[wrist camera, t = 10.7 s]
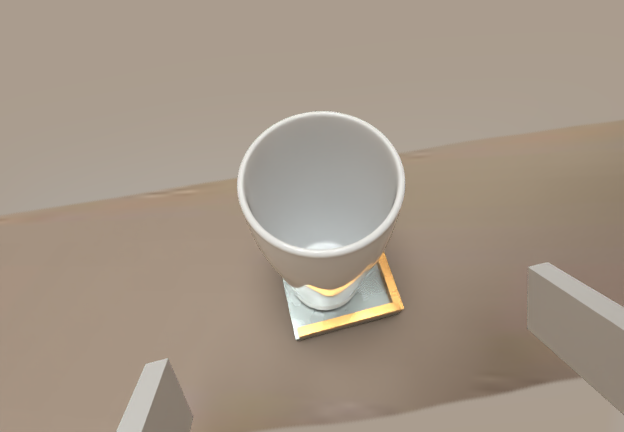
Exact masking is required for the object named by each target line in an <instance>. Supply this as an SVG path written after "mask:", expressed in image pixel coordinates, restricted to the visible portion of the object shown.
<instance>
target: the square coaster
mask: <svg viewBox="0 0 624 432" xmlns="http://www.w3.org/2000/svg"><path fill="white" fill-rule="evenodd" d="M282 279H283V278H282ZM283 283H284V288H285V293H286V297H287V302H288V306H289V311H290V315H291V320H292V324H293V329H294V333H295V338H296V340H297V341H300V340H304V339H308V338H312V337H315V336H319V335H323V334H326V333H330V332H334V331H338V330H341V329H345V328H349V327H352V326H356V325H360V324H363V323H367V322H371V321H375V320H378V319H382V318H386V317H389V316H393V315H397V314H399V313H400V312H401V311H402V310H403V309H404V307H403V304H402V301H401V298H400V296H399V293H398V290H397V287H396V284H395V282H394V279H393V276H392V273H391V270H390V268H389V265H388V262H387V259H386V256H385V254H384V252H383V253H382V255H381V256H380V258H379V260H378V261H377V262H376V264H375V265H374V266H373V268H372V269H371V270H370V272H369V273H368V274H367V276H366V277H365V278H364V279H363V281H362V282H361V283H360V285H359V286H358V289H357V291H356V293H355V294H354V296H353V297H352V298H351V299H350V300H349V301H348V302H347V303H346V304H344V305H343V306H341V307H339V308H336V309H332V310H318V309H314V308H311V307H309V306H307V305H305V304H304V303H303V302H301V301H300V300H299V299H298V298H297V296H296V295H295V293H294V292H293V290H292V288H291V287H290V286H289V285H288V284H287V282H286V281H285V280H284V279H283Z"/></svg>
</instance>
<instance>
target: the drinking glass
mask: <svg viewBox="0 0 624 432" xmlns="http://www.w3.org/2000/svg"><path fill="white" fill-rule="evenodd" d="M237 192H238V199H239V203H240V207H241V209H242V212H243V214H244V216H245V219H246V222H247V224H248V227H249V229H250V231H251V234H252V236H253V238H254V240H255V242H256V244H257V245H258V247H259V249H260V250H261V252H262V253H263V255H264V257H265V258H266V259H267V261H268V262H269V263H270V264H271V266H272V267H273V268H274V269H275V270H276V271H277V273H278V274H279V275H280V276H281V277H282V278H283V279H284V280H285V281H286V282H287V284H288V285H289V286H290V287H291V288H292V290H293V292H294V293H295V295H296V296H297V298H298V299H299V300H300V301H301V302H303V303H304V304H305V305H307V306H309V307H311V308H314V309H318V310H332V309H336V308H339V307H341V306H343V305H344V304H346V303H347V302H348V301H349V300H350V299H351V298H352V297H353V296H354V294H355V293H356V291H357V289H358V286H359V285H360V283H361V282H362V281H363V279H364V278H365V277H366V276H367V274H368V273H369V272H370V270H371V269H372V268H373V266H374V265H375V264H376V262H377V261H378V260H379V258H380V256H381V255H382V253H383V252H384V250H385V248H386V246H387V244H388V242H389V240H390V238H391V235H392V233H393V230H394V228H395V225H396V222H397V219H398V216H399V212H400V209H401V206H402V203H403V199H404V194H405V174H404V169H403V165H402V162H401V159H400V157H399V155H398V153H397V151H396V149H395V148H394V146H393V145H392V144H391V142H390V141H389V140H388V139H387V138H386V137H385V135H384V134H382V133H381V132H380V131H379V130H378V129H376V128H375V127H374V126H372V125H370V124H369V123H367V122H365V121H363V120H361V119H359V118H356V117H354V116H351V115H347V114H343V113H338V112H330V111H315V112H307V113H301V114H298V115H294V116H291V117H288V118H286V119H284V120H281V121H279V122H278V123H276V124H274V125H272V126H271V127H269V128H268V129H267V130H265V131H264V132H263V133H262V134H261V135H260V136H259V137H258V138H257V139H256V140H255V141H254V142H253V143H252V145H251V146H250V147H249V149H248V150H247V152H246V154H245V155H244V158H243V160H242V162H241V165H240V168H239V173H238V179H237Z"/></svg>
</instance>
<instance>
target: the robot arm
mask: <svg viewBox="0 0 624 432" xmlns="http://www.w3.org/2000/svg"><path fill="white" fill-rule="evenodd" d="M527 329H528V330H529V331H530V332H531V333H533V334H534V335H535V336H536V337H537V338H538V339H539V340H540V341H542V342H543V343H544V344H545V345H546V346H547V347H548V348H549V349H551V350H552V351H553V352H554V353H555V354H556V355H557V356H558V357H559V358H561V359H562V360H563V361H564V362H565V363H566V364H567V365H568V366H570V367H571V368H572V369H573V370H574V371H575V372H576V373H577V374H579V375H580V376H581V377H582V378H583V379H584V380H585V381H586V382H588V383H589V384H590V385H591V386H592V387H593V388H594V389H595V390H596V391H598V392H599V393H600V394H601V395H602V396H603V397H604V398H605V399H607V400H608V401H609V402H610V403H611V404H612V405H613V406H614V407H616V408H617V409H618V410H619V411H620V412H621V413H622V414H623V415H624V307H622V306H621V305H619V304H617V303H616V302H614V301H612V300H611V299H609V298H607V297H606V296H604V295H602V294H601V293H599V292H597V291H596V290H594V289H592V288H590V287H589V286H587V285H585V284H584V283H582V282H580V281H579V280H577V279H575V278H574V277H572V276H570V275H569V274H567V273H565V272H564V271H562V270H560V269H558V268H557V267H555V266H553V265H552V264H550V263H548V262H546V263H542V264H538V265H534V266H530V267H528V289H527ZM192 420H193V414H192V412H191V410H190V407H189V405H188V403H187V401H186V398H185V396H184V394H183V391H182V389H181V387H180V384H179V382H178V380H177V378H176V375H175V373H174V371H173V368H172V366H171V364H170V361H169V359H168V358H167V359H163V360H159V361H155V362H151V363H147V364H146V365H145V367H144V369H143V372H142V374H141V376H140V378H139V381H138V383H137V385H136V388H135V390H134V392H133V394H132V397H131V399H130V401H129V404H128V406H127V408H126V411H125V413H124V415H123V417H122V420H121V422H120V424H119V427H118V429H117V431H116V432H190V429H191V425H192Z"/></svg>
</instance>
